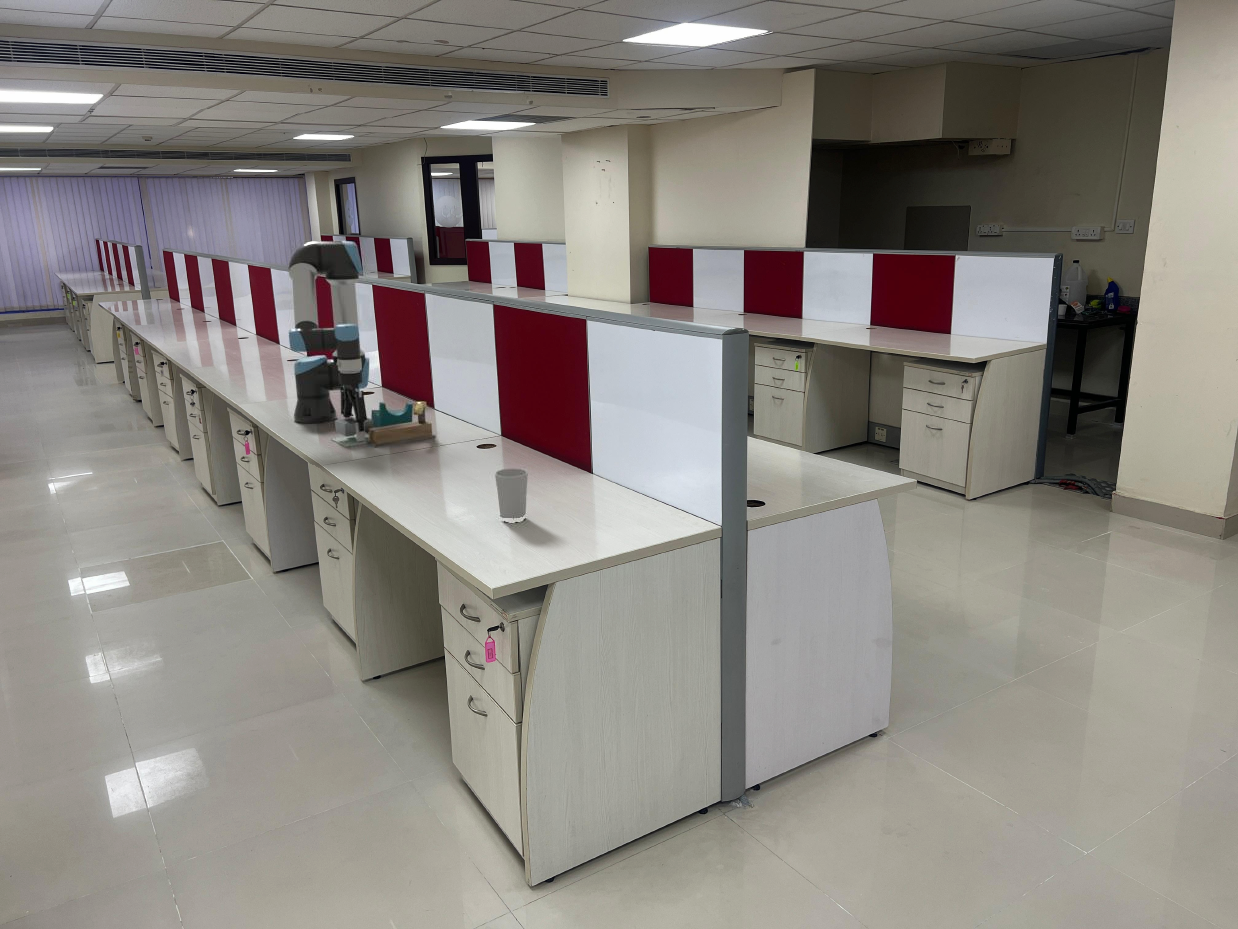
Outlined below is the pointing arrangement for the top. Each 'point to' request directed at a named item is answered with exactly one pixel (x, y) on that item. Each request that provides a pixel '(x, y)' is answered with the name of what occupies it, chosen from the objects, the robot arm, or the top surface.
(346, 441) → the mat
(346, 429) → the gray rectangular block
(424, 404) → the lever
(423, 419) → the plane body
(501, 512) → the cup
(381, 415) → the teal notched cradle
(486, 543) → the top surface
